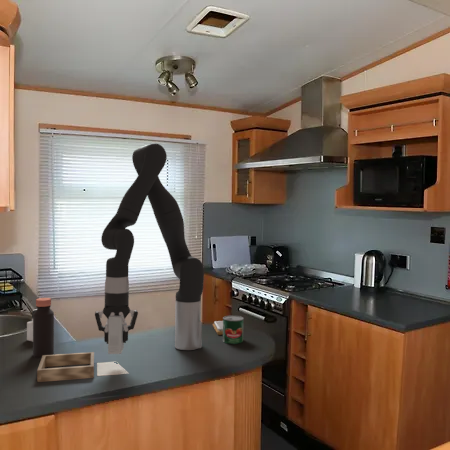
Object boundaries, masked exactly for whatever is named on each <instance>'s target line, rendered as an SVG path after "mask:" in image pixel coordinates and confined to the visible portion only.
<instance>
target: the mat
mask: <svg viewBox="0 0 450 450" xmlns="http://www.w3.org/2000/svg"><path fill="white" fill-rule="evenodd" d="M114 362H115V361H105V362H97V363H96V375H97V377H104V376H118V375H125V374H126V375H128V374H129V371H127V370H126V369H125V368H124V367H123V366H122V365H120V364H119V363H118V364H116V363H114Z"/></svg>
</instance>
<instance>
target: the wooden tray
mask: <svg viewBox="0 0 450 450" xmlns="http://www.w3.org/2000/svg"><path fill="white" fill-rule="evenodd" d="M88 364H89V365H88ZM62 366H63V367H62ZM47 367H48V368H47ZM94 375H95V351H90V352H75V353H74V352H73V353H57V354H56V353H55V354H53V355H43V356H42V358H40V362H39V365H38V367H37V371H36V376H37V378H36V379H37V383H43V382H55V381H57V382H58V381H69V380H80V379H81V380H83V379H93V378H94V377H95V376H94Z"/></svg>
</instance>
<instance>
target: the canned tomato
mask: <svg viewBox="0 0 450 450" xmlns="http://www.w3.org/2000/svg"><path fill="white" fill-rule="evenodd" d="M244 319H245V318H244V317H243V316H241V315H225V316H223V317H222V321H223V335H222V342H223V343H224V344H227V345H228V344H229V345H238V344H241V343H243V342H244Z"/></svg>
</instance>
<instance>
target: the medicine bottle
mask: <svg viewBox="0 0 450 450" xmlns="http://www.w3.org/2000/svg"><path fill="white" fill-rule="evenodd" d="M36 310H37V308H36V309H33V310H32V311H31V320H30V321H27V322H26V340H27V341H28V342H32V343H33V313H34V312H35V311H36Z"/></svg>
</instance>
